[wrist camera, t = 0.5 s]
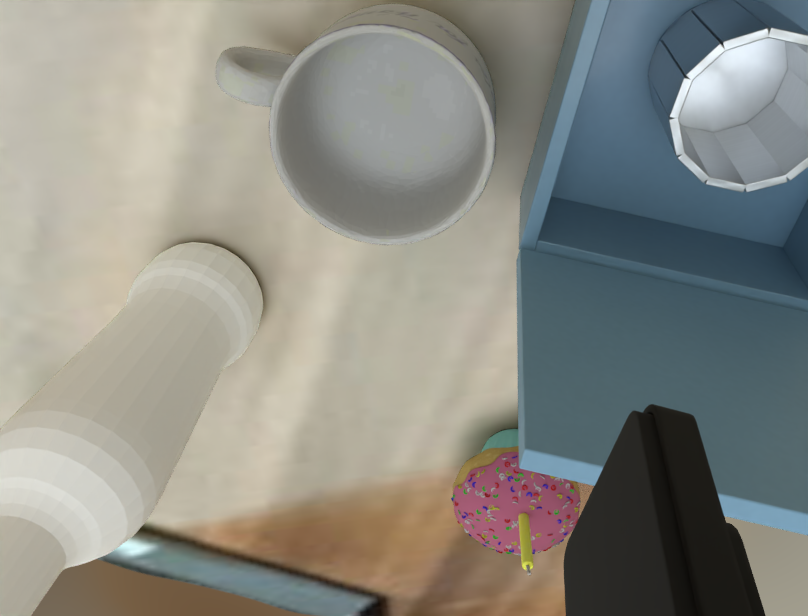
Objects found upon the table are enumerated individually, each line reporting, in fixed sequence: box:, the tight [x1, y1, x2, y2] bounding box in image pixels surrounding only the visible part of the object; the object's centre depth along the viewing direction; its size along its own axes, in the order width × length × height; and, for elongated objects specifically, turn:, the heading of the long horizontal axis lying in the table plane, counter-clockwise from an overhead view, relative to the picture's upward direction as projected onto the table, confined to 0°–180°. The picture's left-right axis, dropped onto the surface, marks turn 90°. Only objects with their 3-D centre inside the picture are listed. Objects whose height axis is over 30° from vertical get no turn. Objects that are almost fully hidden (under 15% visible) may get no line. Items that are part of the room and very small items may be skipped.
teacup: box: [216, 4, 496, 245], centre depth 38 cm, size 14×11×8 cm
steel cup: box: [648, 0, 808, 193], centre depth 35 cm, size 7×7×8 cm
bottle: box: [0, 242, 263, 616], centre depth 38 cm, size 8×8×30 cm
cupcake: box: [451, 429, 581, 575], centre depth 49 cm, size 9×8×12 cm
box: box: [519, 0, 808, 312], centre depth 37 cm, size 16×16×7 cm
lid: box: [517, 248, 808, 535], centre depth 30 cm, size 16×16×1 cm
